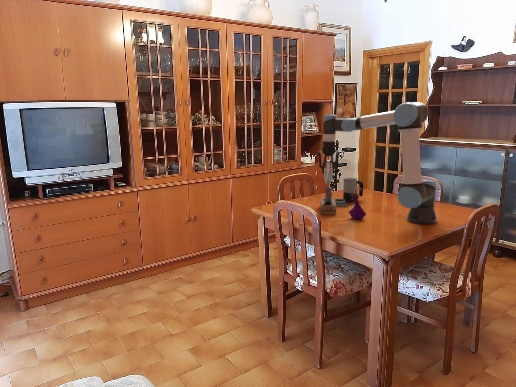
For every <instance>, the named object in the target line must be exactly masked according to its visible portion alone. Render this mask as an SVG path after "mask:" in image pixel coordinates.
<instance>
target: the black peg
mask: <svg viewBox="0 0 516 387" xmlns="http://www.w3.org/2000/svg"><path fill="white" fill-rule="evenodd" d="M324 188H325V189H324V190H325V196H324V198H325V205H331V199H332V191H333V190H332V189H333V188H332V186H326V187H324Z"/></svg>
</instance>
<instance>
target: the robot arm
mask: <svg viewBox="0 0 516 387" xmlns="http://www.w3.org/2000/svg"><path fill="white" fill-rule="evenodd" d="M428 116H429V109H428V107H427V105H425V104H424V103H423V102H421V101H420V102H419V101H416V102H415V101H413V102H412V101H411V102H410V101H407V102H403V103H401V104H399V105H397V107H396V108H395V110H390V111H389V110H388V111H385V112H380V113H379V112H378V113H374V114H369V115H363V116H358V117H346V118H341V117H340V118H338V117H337V115H336V114H324V115H323V117H322V118H323V121H322V149H321V150H319V151H317V154H318V164H319V165H318V166H319V168H320V169H321V174H323V180H325V163H326V160H327V158H328V157H330V160H331V161H332V162H331V180H333V175H334V174H335V170H336V169H338V167H339V156H340V154H341V152H340V151H339V150H337V149H336V135H337V134H336V133H337V132H343V133H344V132H345V133H348V132H349V133H351V132H354V131H361V130H364V129H372V128H373V129H374V128H379V127H388V126H391V125H397V131H398V132H399V133H400V135H401V136H400V138H401V154H402V175H403V176H402V177H403V179H402V180H401V181H400V189H399V190H398V192H397V199H398V202H399V204H400V205H401V206H403V207H404V208H406V209H409V211H408V213H407V215H406V220H407V221H408V222H411V223H413V224H419V225H432V224H436V223H437V214H436V209H435V201H436V200H435V199H436V189H437V182H436V181H434V180H431V179H430V180H429V179H422V174H421V173H422V172H421V171H422V170H421V168H422V167H421V154H420V153H421V151H420V150H421V148H420V144H421V143H420V131H421V130H422V129H423V123H424V122H425V121H426V120H427V119H428ZM322 154H323V155H324V158H323V161H322ZM334 154H335V162H334Z"/></svg>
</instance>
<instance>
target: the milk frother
mask: <svg viewBox="0 0 516 387" xmlns="http://www.w3.org/2000/svg"><path fill="white" fill-rule="evenodd" d="M358 185H359V187H358ZM356 188H361V189H362V191H361V189H358V190H357V191H356ZM364 188H365V187H364V182H362V181H361V180H358V179H357V178H354V177H346V178H343V188H342V190H343V192H342V194H343V196H342V199H345V201H347V203H355V200H354V198H352V196H353V193H355V192H356V193H357V194H358V196H359V198H361V197H363V195H364Z"/></svg>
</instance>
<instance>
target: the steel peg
mask: <svg viewBox="0 0 516 387" xmlns="http://www.w3.org/2000/svg"><path fill="white" fill-rule="evenodd" d="M324 168H325V179H324V184H327V185H328V184H331V183H332V179H331V168H332V161H331V159H326V162H325V167H324Z"/></svg>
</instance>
